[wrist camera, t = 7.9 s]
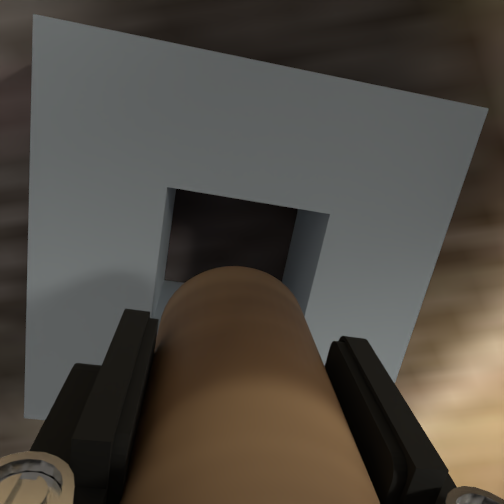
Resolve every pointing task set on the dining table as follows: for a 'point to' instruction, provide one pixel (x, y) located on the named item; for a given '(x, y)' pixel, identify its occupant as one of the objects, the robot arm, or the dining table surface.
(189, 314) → the peg
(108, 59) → the socket block
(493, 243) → the dining table surface
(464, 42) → the dining table surface
